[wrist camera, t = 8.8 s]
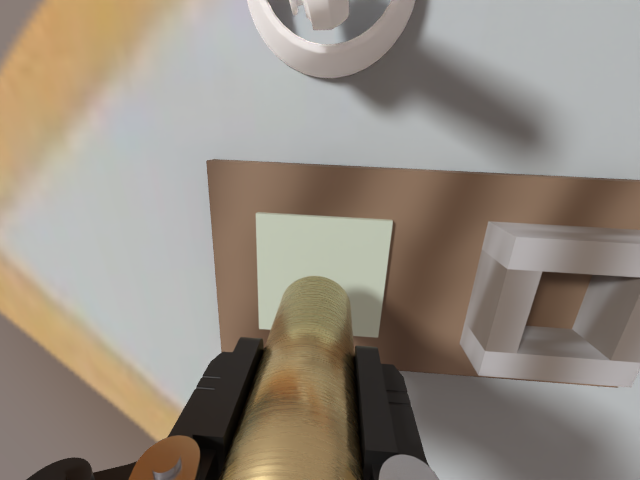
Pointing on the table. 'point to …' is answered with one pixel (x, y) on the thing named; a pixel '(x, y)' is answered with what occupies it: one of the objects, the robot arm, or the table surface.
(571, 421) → the table surface
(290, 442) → the brass peg
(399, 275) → the walnut board
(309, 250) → the sage pad
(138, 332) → the table surface
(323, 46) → the white vr controller
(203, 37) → the table surface
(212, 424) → the robot arm
